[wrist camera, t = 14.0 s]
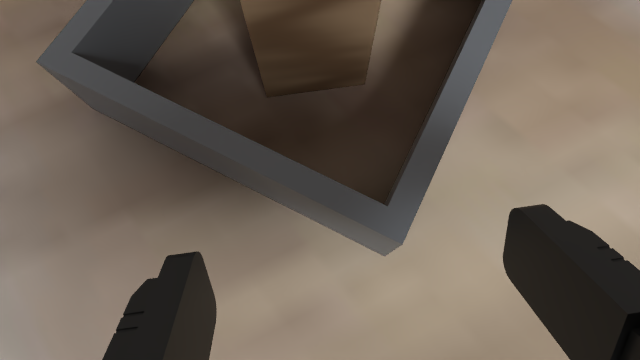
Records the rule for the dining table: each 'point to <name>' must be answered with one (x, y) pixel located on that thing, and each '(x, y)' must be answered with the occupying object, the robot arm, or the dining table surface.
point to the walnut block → (311, 42)
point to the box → (238, 151)
